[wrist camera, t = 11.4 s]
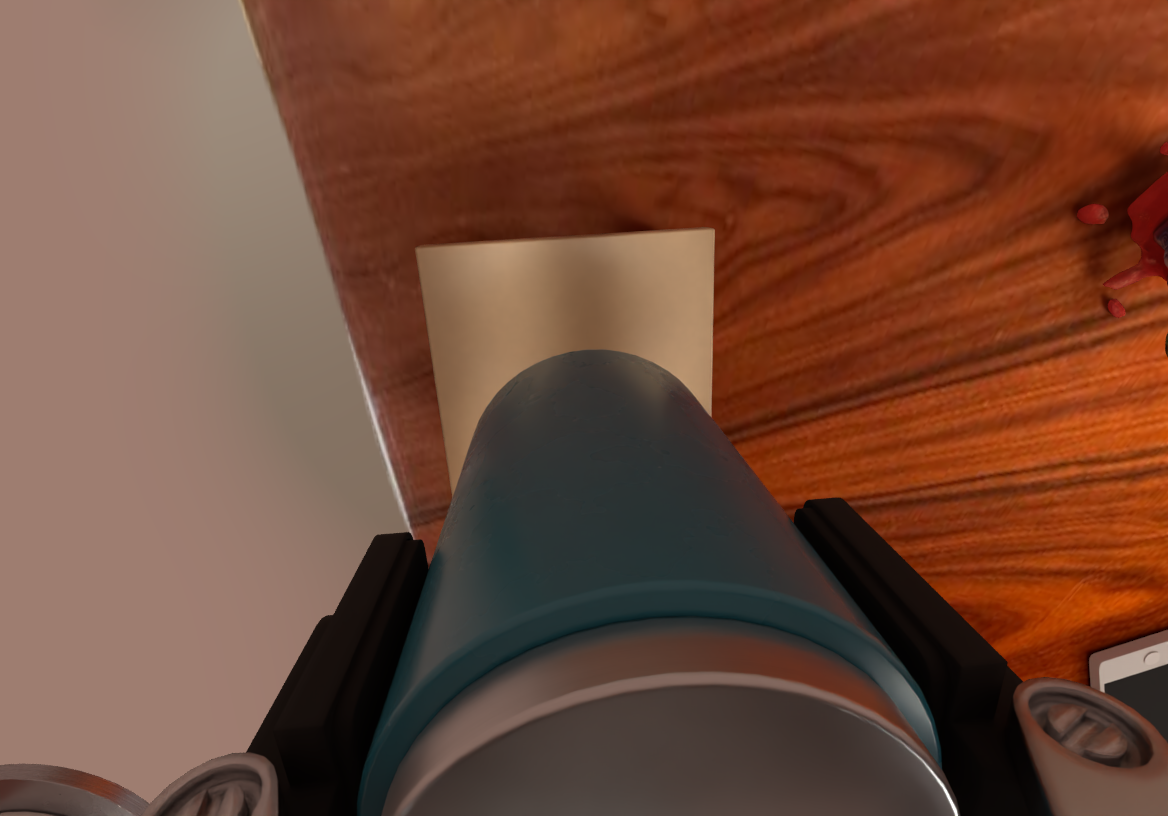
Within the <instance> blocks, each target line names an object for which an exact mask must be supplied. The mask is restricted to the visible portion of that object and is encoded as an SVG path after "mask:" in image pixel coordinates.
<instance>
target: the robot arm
mask: <svg viewBox="0 0 1168 816" xmlns="http://www.w3.org/2000/svg"><path fill="white" fill-rule="evenodd" d="M794 524H795V526H796V527H797V528H798V530H799V531H800V532H801V533H802V535H803V536H804V537H805V539H806V540H807V541H808V542H809V544H810V545H811V546H812V548H813V549H814V550H815V551H816V553H817V554H818V555H819V557H820V558H821V559H822V560H823V562H824V563H825V564H826V565H827V567H828V568H829V569H830V571H831V572H832V573H833V574H834V576H835V577H836V578H837V580H838V581H839V582H840V583H841V585H842V586H843V587H844V589H845V590H846V591H847V592H848V594H849V595H850V596H851V598H852V599H853V600H854V601H855V603H856V604H857V605H858V607H859V608H860V609H861V610H862V612H863V613H864V614H865V616H866V617H867V618H868V619H869V621H870V622H871V623H872V625H873V626H874V627H875V628H876V630H877V631H878V632H879V634H880V635H881V636H882V637H883V639H884V640H885V641H886V643H887V644H888V645H889V646H890V648H891V649H892V650H893V652H894V653H895V654H896V655H897V657H898V658H899V659H900V661H901V662H902V663H903V664H904V666H905V667H906V669H907V670H908V671H909V673H910V674H911V676H912V677H913V678H914V680H915V681H916V683H917V684H918V685H919V687H920V688H921V690H922V693H923V695H924V697H925V699H926V701H927V703H928V705H929V708H930V710H931V712H932V714H933V718H934V721H935V725H936V729H937V733H938V737H939V741H940V745H941V757H942V771H943V773H944V774H945V776H946V778H947V780H948V782H949V785H950V787H951V789H952V791H953V793H954V795H955V797H956V799H957V803H958V807H959V811H960V815H961V816H1168V743H1167V742H1166V740H1165V739H1164V738H1163V737H1162V736H1161V734H1160V733H1159V732H1158V731H1157V730H1156V728H1155V727H1154V726H1153V725H1152V724H1151V723H1150V722H1149V721H1147V720H1146V719H1145V718H1144V717H1143V716H1141V715H1140V714H1139V713H1138V712H1136V711H1135V710H1134V709H1133V708H1131V707H1129V706H1128V705H1126V704H1124V703H1123V702H1121V701H1119V700H1118V699H1116V698H1114V697H1113V696H1111V695H1109V694H1106V693H1104V692H1102V691H1099V690H1097V689H1095V688H1092V687H1090V686H1088V685H1084V684H1081V683H1077V682H1073V681H1070V680H1066V679H1059V678H1049V677H1041V678H1034V679H1028V680H1026V681H1025V682H1023V681H1022V680H1021V679H1020V678H1019V677H1018V676H1017V675H1016V674H1015V673H1014V672H1013V671H1012V670H1011V669H1010V668H1009V667H1008V666H1007V663H1008V662H1007V661H1006V660H1005V659H1004V658H1003V657H1002V656H1001V655H1000V654H999V653H998V652H997V651H996V650H995V649H994V648H993V647H992V646H991V645H990V644H989V643H988V642H987V641H986V640H985V639H984V638H983V637H982V636H981V635H980V634H979V633H978V632H976V631H975V630H974V629H973V628H972V627H971V626H970V625H969V624H968V623H967V622H966V621H965V620H964V619H963V618H962V617H961V616H960V615H959V614H958V613H957V612H956V611H955V610H954V609H953V608H952V607H951V606H950V605H949V604H948V603H947V602H946V601H945V600H944V599H943V598H942V597H941V596H940V595H939V594H938V593H937V592H936V591H935V590H934V589H933V588H932V587H931V586H930V585H929V584H928V583H927V582H926V581H925V580H924V579H923V578H922V577H921V576H920V575H919V574H918V573H917V572H916V571H915V570H914V569H913V568H912V567H911V566H910V565H909V564H908V563H907V562H906V561H905V560H904V559H903V558H902V557H901V556H900V555H899V554H898V553H897V552H896V551H895V550H894V549H893V548H892V547H891V546H890V545H889V544H888V543H887V542H886V541H885V540H884V539H883V538H882V537H881V536H880V535H879V534H878V533H877V532H876V531H875V530H874V529H873V528H871V527H870V526H869V525H868V524H867V523H866V522H865V521H864V520H863V519H862V518H861V517H860V516H859V515H858V514H857V513H856V512H855V511H854V510H853V509H852V508H851V507H850V506H849V505H848V504H847V503H846V502H845V501H844V500H843V499H841V498H826V499H813V500H807V501H806V502H805V504H804V507H803V508H802V509H797V510H796V512H795V516H794ZM428 570H429V569H428V563H427V558H426V552H425V547H424V543H423V541H422V540H413V537H412V535H411V533H409V532H405V533H394V534H381V535H376V536H375V537H374V539H373V541H372V543H371V545H370V547H369V548H368V550H367V552H366V554H365V556H364V558H363V560H362V562H361V564H360V565H359V567H358V569H357V571H356V573H355V575H354V577H353V579H352V581H351V582H350V584H349V586H348V588H347V590H346V592H345V594H344V596H343V598H342V600H341V601H340V603H339V605H338V607H337V609H336V611H335V613H334V615H328V616H325V617H323V618H322V619H321V620H320V621H319V623H318V624H317V626H316V627H315V629H314V631H313V633H312V635H311V636H310V638H309V640H308V642H307V644H306V645H305V647H304V649H303V651H302V653H301V655H300V656H299V658H298V660H297V662H296V664H295V665H294V667H293V669H292V671H291V672H290V674H289V676H288V678H287V680H286V681H285V683H284V685H283V687H282V689H281V690H280V692H279V694H278V696H277V698H276V699H275V701H274V703H273V705H272V707H271V708H270V710H269V712H268V714H267V716H266V718H265V719H264V721H263V723H262V725H261V727H260V728H259V730H258V732H257V734H256V736H255V738H254V739H253V741H252V743H251V745H250V746H249V748H248V750H247V752H246V753H232V754H228V755H225V756H221V757H218V758H215V759H211V760H209V761H207V762H206V763H203V764H201V765H200V766H197V767H195V768H194V769H191V770H190V771H188V772H187V773H185V774H184V775H183V776H181V777H180V778H178V779H177V780H176V781H174V782H173V783H171V784H170V785H169V786H168V787H167V788H166V789H164V790H163V791H162V792H161V793H160V794H159V796H157V797H156V798H155V799H154V800H153V801H152V802H151V803H150V804H149V806H148V807H147V809H146V810H145V811H144V813H143V814H142V816H357V796H358V791H359V786H360V781H361V776H362V771H363V768H364V764H365V761H366V758H367V755H368V752H369V749H370V746H371V743H372V740H373V737H374V734H375V731H376V728H377V725H378V722H379V719H380V716H381V713H382V710H383V707H384V704H385V701H386V698H387V695H388V692H389V689H390V686H391V683H392V680H393V677H394V674H395V671H396V667H397V664H398V661H399V658H400V655H401V652H402V649H403V646H404V643H405V640H406V637H407V634H408V631H409V628H410V625H411V622H412V619H413V616H414V613H415V610H416V607H417V604H418V601H419V598H420V595H421V592H422V589H423V586H424V583H425V580H426V577H427V573H428ZM0 816H57V815H52V814H47V813H39V812H28V811H20V812H4V813H0Z"/></svg>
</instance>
